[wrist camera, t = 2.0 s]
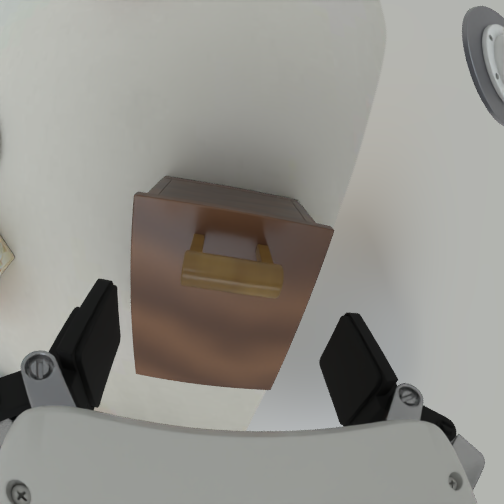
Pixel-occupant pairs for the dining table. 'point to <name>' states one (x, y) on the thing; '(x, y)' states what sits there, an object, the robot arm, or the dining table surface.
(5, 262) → the coffeecake box
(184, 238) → the lid
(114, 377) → the dining table surface
